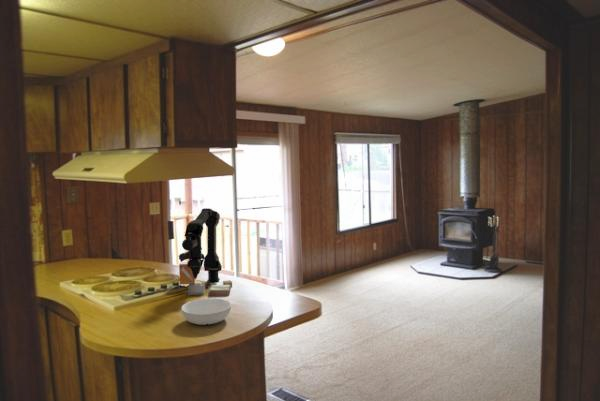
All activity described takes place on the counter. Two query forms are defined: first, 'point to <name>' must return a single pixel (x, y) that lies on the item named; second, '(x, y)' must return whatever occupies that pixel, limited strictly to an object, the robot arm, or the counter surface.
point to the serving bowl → (206, 311)
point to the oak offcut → (227, 283)
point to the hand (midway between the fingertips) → (196, 276)
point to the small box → (185, 274)
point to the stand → (219, 290)
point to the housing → (196, 288)
